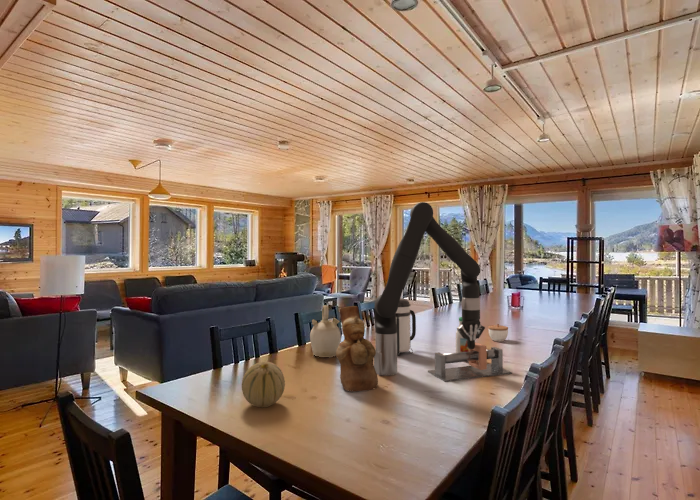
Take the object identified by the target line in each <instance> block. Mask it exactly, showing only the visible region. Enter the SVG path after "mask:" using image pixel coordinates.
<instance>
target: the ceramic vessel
mask: <svg viewBox="0 0 700 500" xmlns="http://www.w3.org/2000/svg"><path fill="white" fill-rule="evenodd" d="M339 315H340V322H341V330H342V334H343V336H344V337H343V338H344V339H343V341H340V344H339V346H338V348H337V351H336V356H335V357H336V359H337V360H338V362H339V366H340V370H339V371H340V372H339V373H340V375H339V378H340V379H339V380H340V384H341V386H342V388H343V389H344V390H345V391H347V392H364V391H365V392H366V391H371V390H374V389H376V388H377V387H378V384H379V378H378V374H377V373H376V371H375V368H374V356H375V354H376V350H375V349H376V347H375V346H374V345H373V343H372V342H371V341H370V340H369V339H366V338H365V332H366V328H365V322H364V321H363V320H362V319H361V317H360V310H359V307H358V306H357V305H352V306H344V307H341V308H339Z"/></svg>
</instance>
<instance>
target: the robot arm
mask: <svg viewBox="0 0 700 500" xmlns="http://www.w3.org/2000/svg"><path fill="white" fill-rule="evenodd" d="M409 215H410V216H409V217H410V219H409V222H408V226H407V227H406V231H405V233H404V235H403V236H402V239H401V240H400V241H399V243H398V245H397V247H396V250H395V253H394V255H393V257H392V260H391V263H390V267H389V272H388V278H387V282H386V285H385V287H384V289H383V291H382V294H381V295H379V296H378V297H376V299H375V301H374V328H375V329H374V330H375V331H374V333H375V339H374V340H375V350H376V354H375V356H374V358H373V365H374V368H375V371H376V374H377V376H386V377H387V376H395V375H397V374H398V356H397V325H396V312H397V309H398V305H399V301H400V299H402V298H401V297H402V295H403V291H404V288H405V285H406V283H407V282H408V279H409V277H410V275H411V272H412V271H413V268H414V266H415V263H416V260H417V257H418V254H419V251H420V247H421V245H422V240H423V237H424V235H425V233H426V234H427V235H429V236H430V238H431V239H432V240H433V241H434V242H435V243H436V244H437V246H438V247H439V249H441V250H442V252H443V253H444V254H445V255H446V256H447V257H448V259H450V260H451V261H452V263H454V264H456V266H457V267H458V269H460V278H461V280H460V281H461V286H462V287H461V296H462V298H461V317H462V325H461V326H460V327H459V326H457V327H456V331H457V330H458V331H459V333H460V334H461V336H462V337H463V338H464V339H467V347H468V348H469V349H474V348H475V342H476V340H477V339H479V338H480V337H481V336H482V335H483V332H484V331H485V329H486V326H483V325H482V324H481V299H480V286H479V284H478V277H479V275H480V274H481V267H480V264H478V262H477V261H476V260H475V259H474V258H473V257H472V256H471V255H470V254H468V252H467V251H466V250H465V249H464V248H463V247H462V246H461V244H460V243H459V242H458V241H457V240H456V239H455V238H454V237H453V236H452V235H450V234H449V232H447V231H446V230H445V229H444V228H443V227H442V226H441V225H440V224H439V223H438V222H437V220H436V219H435V218H434V209H433V207H432V205H431V204H430V203H428V202H427V201H421V202H417V203H416V204H415V205H414V206H413V207H412V208H411V210H410V212H409ZM464 329H465V332H466V333H465V332H464Z"/></svg>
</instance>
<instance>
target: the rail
mask: <svg viewBox="0 0 700 500" xmlns="http://www.w3.org/2000/svg"><path fill="white" fill-rule="evenodd" d="M503 355H504V354H503V348H499V347H497V346H491V347H490V348H489V349H487V360H490V361H491V363H487V369H484V370H480V369H477V368H475V367H473V366H471V365H465V366H455V367H448V368H446V364H447V365H449V364H457V363H465V362H466V363H467V362H469V361H476V362H477V361H479V352H477V351H468V352H458V353H456V352H451V353H450V352H449V353H441V352H434V369H429V370H427V373H429V374H430V375H433V376H434V377H435V378H438V379H440V380H441V381H443V382H445V383H446V382H447V383H448V382H453V381H454V382H455V381H461V380H462V381H463V380H469V379H470V380H471V379H480V378H485V377H487V378H488V377H493V376H494V377H495V376H504V375H505V376H506V375H512V373H513V371H510V370H507V369H505V368H504V366H503V365H504V363H503V362H504V358H503Z"/></svg>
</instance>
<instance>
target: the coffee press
mask: <svg viewBox="0 0 700 500" xmlns="http://www.w3.org/2000/svg"><path fill="white" fill-rule="evenodd" d="M416 322H417V321H416V314H415V311H414V310H411V303H410V301H409V300H408V299H406V298H400V301H399V305H398V309H397V312H396V325H397V357H400V353H405V352H406V353H407V352H409V353H410V354H413V352H414V350H413V349H412V348H411V341H412V340H414V339H415V337H416V334H417V333H416V331H417V329H416V328H417V325H416V324H417V323H416ZM411 323H412V324H411ZM411 326H412V327H411ZM410 350H411V351H410Z"/></svg>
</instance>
